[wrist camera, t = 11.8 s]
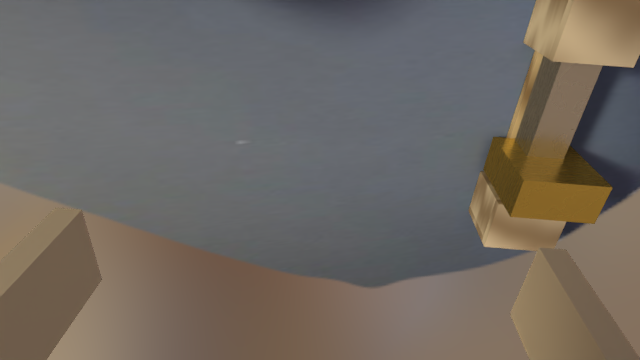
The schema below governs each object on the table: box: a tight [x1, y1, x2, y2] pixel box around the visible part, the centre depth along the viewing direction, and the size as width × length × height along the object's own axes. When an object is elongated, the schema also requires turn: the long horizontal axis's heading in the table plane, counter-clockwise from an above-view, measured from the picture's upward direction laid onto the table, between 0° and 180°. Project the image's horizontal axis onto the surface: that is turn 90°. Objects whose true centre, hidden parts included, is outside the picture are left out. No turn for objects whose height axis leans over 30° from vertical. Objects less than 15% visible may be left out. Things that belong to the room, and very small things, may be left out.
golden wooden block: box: [483, 56, 613, 224], centre depth 36 cm, size 20×7×8 cm, turn 176°
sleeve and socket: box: [469, 0, 640, 251], centre depth 36 cm, size 28×7×6 cm, turn 176°
